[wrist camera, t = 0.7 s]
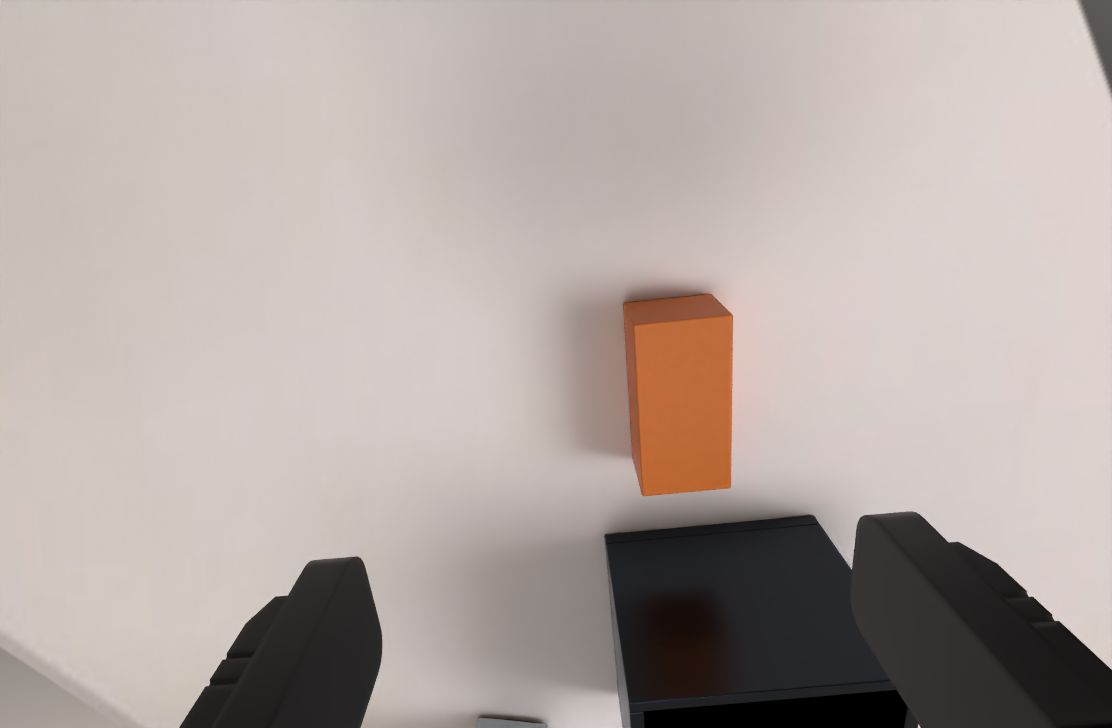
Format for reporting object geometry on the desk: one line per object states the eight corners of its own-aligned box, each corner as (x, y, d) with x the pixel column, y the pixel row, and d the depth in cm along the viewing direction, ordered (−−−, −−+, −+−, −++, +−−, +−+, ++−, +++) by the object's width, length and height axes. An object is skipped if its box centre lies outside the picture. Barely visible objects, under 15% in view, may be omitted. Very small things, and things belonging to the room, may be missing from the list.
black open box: (604, 534, 34) (628, 703, 24) (813, 514, 33) (927, 677, 23) (618, 694, 39) (643, 891, 29) (801, 678, 38) (891, 871, 28)
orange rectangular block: (622, 302, 29) (632, 324, 25) (711, 293, 28) (733, 314, 25) (632, 458, 32) (642, 497, 29) (711, 451, 32) (731, 488, 28)
